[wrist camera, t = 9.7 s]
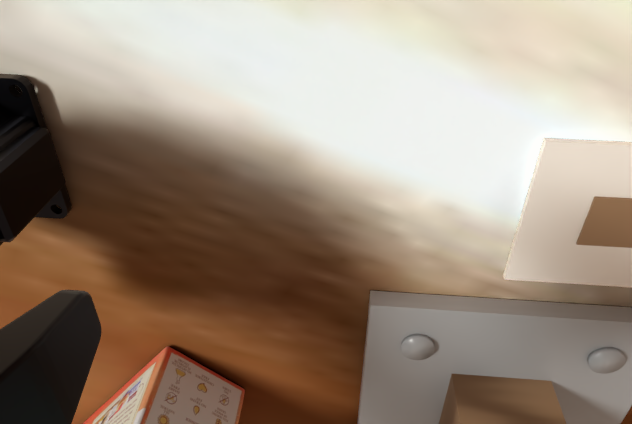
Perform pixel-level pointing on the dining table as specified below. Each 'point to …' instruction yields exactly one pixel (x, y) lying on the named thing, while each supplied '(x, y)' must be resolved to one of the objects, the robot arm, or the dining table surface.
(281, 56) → the dining table surface
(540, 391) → the walnut cube
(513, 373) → the plate
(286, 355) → the dining table surface
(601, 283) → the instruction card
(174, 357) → the cracker box
